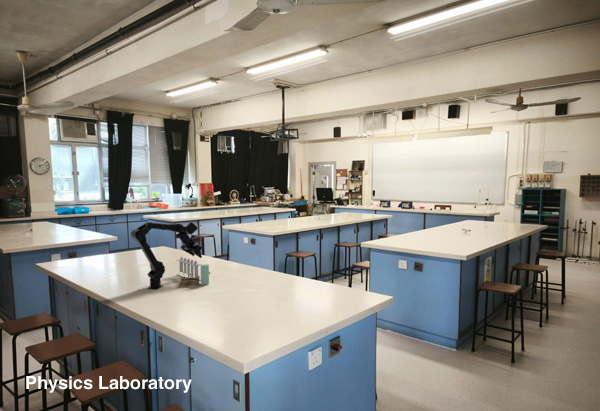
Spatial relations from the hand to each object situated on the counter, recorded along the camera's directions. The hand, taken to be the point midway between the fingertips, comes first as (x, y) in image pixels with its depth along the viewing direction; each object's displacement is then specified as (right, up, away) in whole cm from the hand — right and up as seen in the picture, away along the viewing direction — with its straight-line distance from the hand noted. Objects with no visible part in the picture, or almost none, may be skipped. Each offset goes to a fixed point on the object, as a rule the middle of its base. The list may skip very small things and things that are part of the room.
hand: (197, 256), depth 235 cm
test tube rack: (-7, -15, +2) cm, 16 cm away
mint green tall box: (+8, -16, -13) cm, 22 cm away
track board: (-1, -16, -14) cm, 21 cm away
